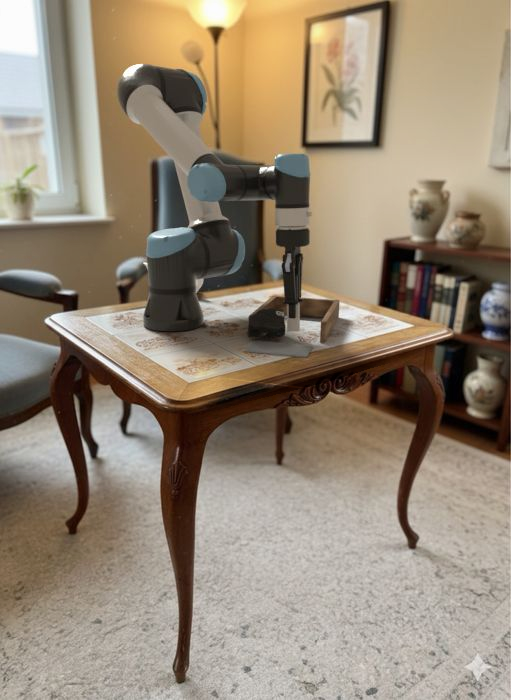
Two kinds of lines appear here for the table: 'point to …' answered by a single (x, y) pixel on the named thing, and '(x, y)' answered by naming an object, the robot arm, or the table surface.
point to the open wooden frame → (310, 312)
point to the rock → (266, 323)
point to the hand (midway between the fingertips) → (293, 330)
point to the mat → (279, 348)
